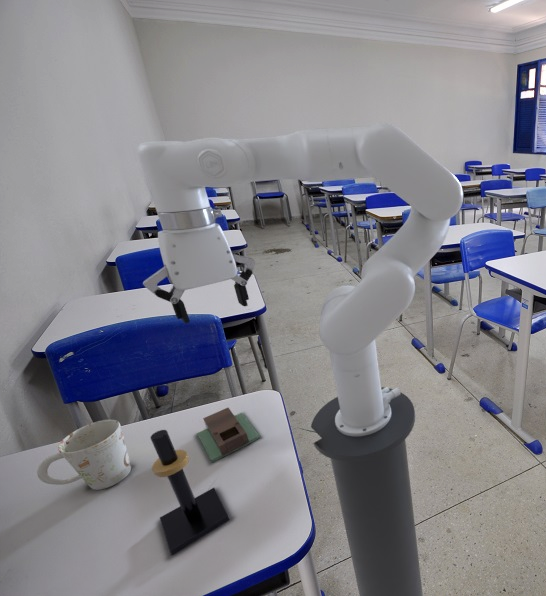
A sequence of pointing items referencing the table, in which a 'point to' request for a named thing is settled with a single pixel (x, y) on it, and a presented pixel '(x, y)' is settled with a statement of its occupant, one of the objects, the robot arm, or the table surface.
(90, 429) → the mug
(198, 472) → the table surface
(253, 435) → the mat
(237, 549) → the table surface
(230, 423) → the brown block with hole
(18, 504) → the table surface
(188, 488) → the hanging post
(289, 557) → the table surface
